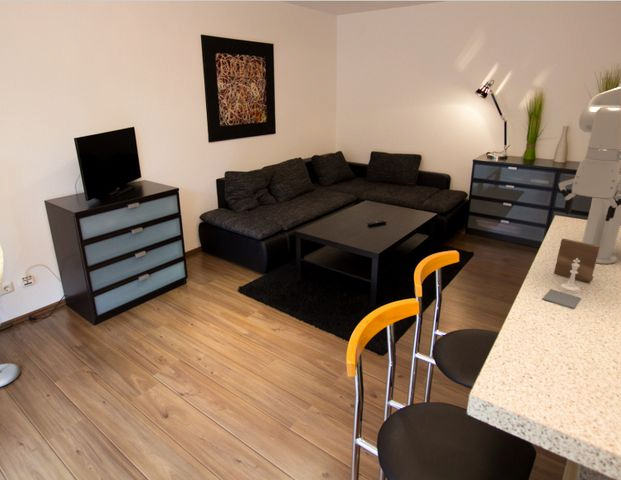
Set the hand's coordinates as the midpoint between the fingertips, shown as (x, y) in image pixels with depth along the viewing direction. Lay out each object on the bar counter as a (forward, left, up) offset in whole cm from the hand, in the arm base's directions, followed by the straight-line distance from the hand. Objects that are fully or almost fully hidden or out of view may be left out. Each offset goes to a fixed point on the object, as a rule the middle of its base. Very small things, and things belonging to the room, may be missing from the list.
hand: (587, 216), depth 115 cm
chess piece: (0, 0, -23) cm, 23 cm away
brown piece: (-11, -2, -23) cm, 25 cm away
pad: (+9, 0, -23) cm, 24 cm away
